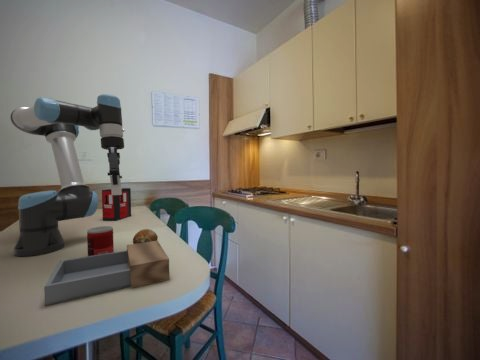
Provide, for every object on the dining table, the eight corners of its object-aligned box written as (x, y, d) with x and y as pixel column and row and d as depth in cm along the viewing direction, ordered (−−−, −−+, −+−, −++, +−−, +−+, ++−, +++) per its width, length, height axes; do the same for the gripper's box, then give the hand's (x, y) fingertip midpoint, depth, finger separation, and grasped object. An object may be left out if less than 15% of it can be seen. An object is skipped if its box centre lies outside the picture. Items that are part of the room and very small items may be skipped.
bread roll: (159, 250, 101) (164, 232, 104) (144, 247, 92) (150, 227, 95) (141, 247, 104) (146, 230, 107) (125, 244, 95) (131, 225, 98)
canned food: (118, 255, 85) (117, 226, 85) (103, 264, 77) (102, 231, 77) (99, 254, 86) (98, 225, 85) (82, 263, 78) (81, 231, 77)
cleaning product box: (115, 221, 146) (114, 190, 145) (102, 220, 147) (101, 190, 146) (131, 216, 162) (130, 188, 161) (119, 216, 163) (118, 188, 162)
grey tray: (44, 305, 53) (44, 286, 53) (60, 275, 69) (60, 260, 68) (130, 286, 62) (130, 270, 61) (127, 263, 77) (127, 250, 77)
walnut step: (130, 288, 61) (130, 265, 60) (127, 262, 78) (126, 245, 78) (169, 279, 66) (169, 258, 65) (157, 256, 83) (157, 240, 83)
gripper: (122, 129, 75) (128, 193, 74) (124, 144, 97) (128, 194, 97) (96, 128, 72) (101, 195, 71) (103, 144, 94) (108, 196, 93)
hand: (117, 194), depth 84 cm, fingers open, 13 cm apart
